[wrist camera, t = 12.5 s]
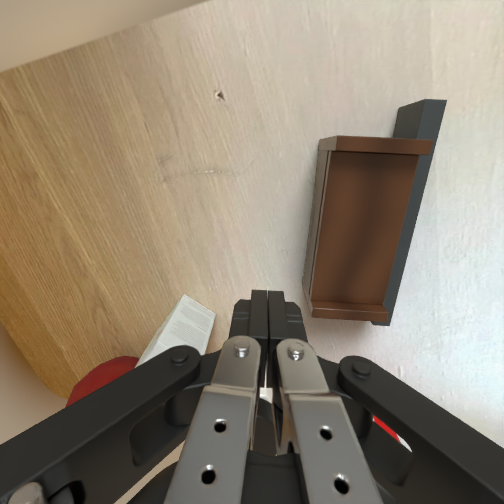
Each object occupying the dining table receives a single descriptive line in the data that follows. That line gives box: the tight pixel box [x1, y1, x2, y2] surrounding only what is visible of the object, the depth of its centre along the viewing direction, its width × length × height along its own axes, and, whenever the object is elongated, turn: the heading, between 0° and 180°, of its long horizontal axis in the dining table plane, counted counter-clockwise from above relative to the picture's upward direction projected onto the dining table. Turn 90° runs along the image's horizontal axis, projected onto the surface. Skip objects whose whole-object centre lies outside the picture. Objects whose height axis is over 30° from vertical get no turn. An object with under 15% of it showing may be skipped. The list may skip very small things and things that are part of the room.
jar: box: [253, 373, 277, 456], centre depth 36 cm, size 9×8×12 cm
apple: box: [65, 356, 139, 408], centre depth 37 cm, size 11×11×12 cm
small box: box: [135, 294, 216, 368], centre depth 35 cm, size 8×6×10 cm
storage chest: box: [302, 135, 433, 322], centre depth 30 cm, size 8×18×8 cm, turn 177°
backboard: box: [371, 99, 447, 326], centre depth 31 cm, size 2×24×5 cm, turn 177°
